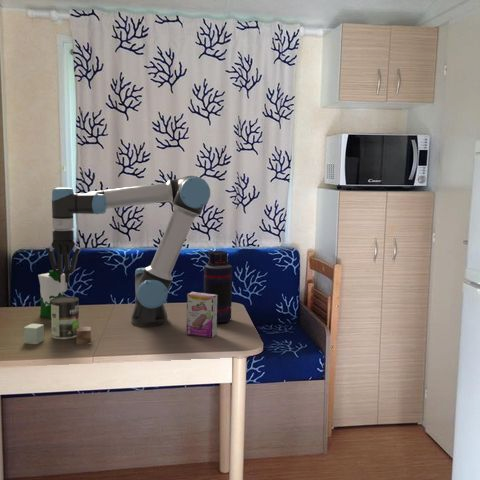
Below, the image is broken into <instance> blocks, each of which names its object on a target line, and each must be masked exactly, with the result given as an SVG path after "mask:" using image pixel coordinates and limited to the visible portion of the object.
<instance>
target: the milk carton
mask: <svg viewBox="0 0 480 480" xmlns="http://www.w3.org/2000/svg"><path fill="white" fill-rule="evenodd" d="M37 277H38V281H39V286H40V287H39V289H40V290H39V291H40V314H39V315H40V316H42V317H44V318H47V319H51V299H54V298H57V297H64V292H61V283H59V282H58V274H57V273H54V272H53V270H52V269H50V270H48V272H46V273H41V274H38V275H37Z"/></svg>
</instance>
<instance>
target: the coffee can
mask: <svg viewBox="0 0 480 480" xmlns="http://www.w3.org/2000/svg"><path fill="white" fill-rule="evenodd" d="M79 301H80V299H79V297H77V296H63V297H57V298H54V299H51V318H50V319H51V338H53V339H56V340H70V339H75V338H77V333H76V331H77V327H80V308H79V307H80V302H79Z"/></svg>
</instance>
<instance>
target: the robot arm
mask: <svg viewBox="0 0 480 480" xmlns="http://www.w3.org/2000/svg"><path fill="white" fill-rule="evenodd" d="M210 198H211V187H210V185H209V183H208V182H207V181H206V180H205V179H203V178H202V177H200V176H195V175H187V176H183V177H180V178H176V179H169V180H168V181H167V182H163V183H155V184H146V185H137V186H130V187H128V186H127V187H121V188H120V187H119V188H113V189H105V190H96V191H95V190H89V191H87V192H86V193H75V192H74V189H73V188H72V187H55V188H53V189H52V191H51V212H52V213H51V214H52V215H51V217H52V221H51V223H52V224H51V225H52V229H53V230H52V242H51V245H49V246H47V247H45V251H46V253H47V254H48V257H49V261H50V265H51V270H53V272H54V273H57V274H58V282H59V283H61V292H63V293H65V292H66V291H68V283H70V274H72V273H74V272H75V269H76V266H77V262H78V256H79V254H80V252H81V251H82V248H81V247H79V246H77V245H76V243H75V241H74V239H75V235H74V234H75V232H74V230H73V229H74V225H75V224H74V214H81V215H82V214H83V215H89V214H90V215H101V214H105V213H107V210H109V209H116V208H126V207H134V206H140V205H141V206H143V205H149V204H151V205H152V204H159V203H160V204H161V203H168V202H169V203H170V204H172V207H173V212H172V214H171V216H170V218H169V221H168V223H167V226H166V228H165V230H164V232H163V234H162V237H161V240H160V242H159V245H158V246H157V249H156V251H155V254H154V257H153V259H152V261H151V264H150V265H148V266H146V267H139V268H136V269H135V271H134V273H135V274H134V279H135V281H134V282H135V283H134V286H135V290H134V292H135V298H134V301H135V302H134V307H133V310H132V313H131V316H130V317H131V318H130V319H131V321H130V323H131V324H132V325H134V326H139V327H145V328H146V327H158V326H162V325H165V324H166V323H168V320H169V319H168V314H167V310H166V307H165V303H166V301H167V300H168V295H169V293H168V292H169V289H170V287H171V283H172V282H173V276H172V272H173V269H174V267H175V265H176V262H177V260H178V257H179V255H180V253H181V251H182V249H183V246H184V243H185V242H186V239H187V237H188V235H189V233H190V229H191V228H192V225H193V222H194V220H195V218H198V217H199V216H201V213H202V212H203V209H204V207H205V206H206V204H207V203H209V200H210ZM54 251H55V252H56V256H55V253H54ZM71 252H73V253H72V254H73V255H72V257H71V260H70V255H71ZM56 257H57V259H56ZM56 260H57V261H56ZM70 261H71V264H70ZM63 263H64V264H63Z"/></svg>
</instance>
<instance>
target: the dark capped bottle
mask: <svg viewBox="0 0 480 480" xmlns="http://www.w3.org/2000/svg"><path fill="white" fill-rule="evenodd" d="M203 274H204V275H203V293H206V294H214V295H217V323H225V322H226V323H227V324H228V322H229V321H230V322H231V320H232V304H233V303H232V299H233V298H232V297H233V292H232V291H233V275H232V274H233V265H231V264H230V263H229V259H228V252H227V251H224V250H210V251H209V250H208V262H207V263H206V264H205V265H203ZM230 322H229V323H230Z"/></svg>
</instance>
